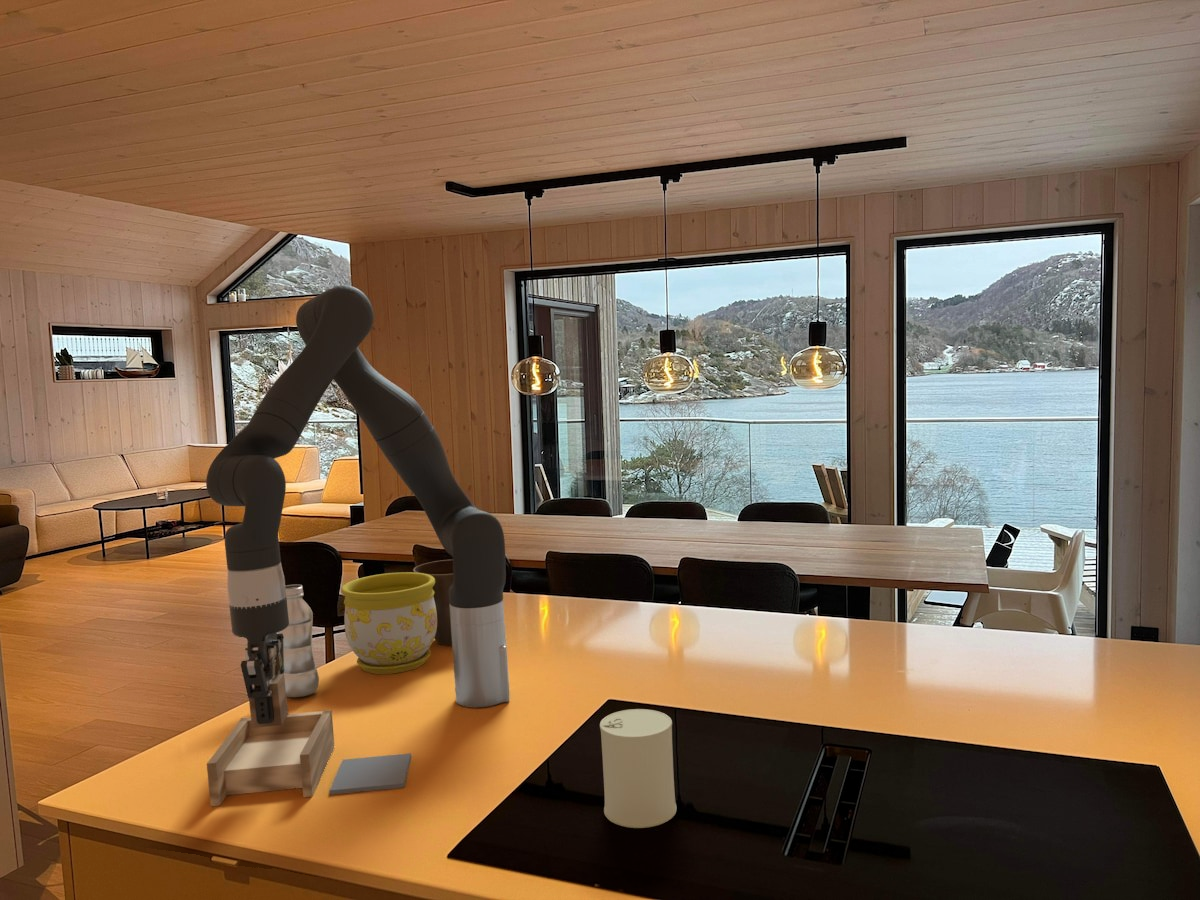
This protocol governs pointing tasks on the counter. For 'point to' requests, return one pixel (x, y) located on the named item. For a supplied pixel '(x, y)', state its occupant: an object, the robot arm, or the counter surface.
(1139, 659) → the counter surface
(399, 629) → the flowerpot
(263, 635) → the robot arm
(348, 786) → the mat
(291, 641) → the plastic bottle
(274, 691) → the block
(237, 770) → the crate
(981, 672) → the counter surface
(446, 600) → the plant pot
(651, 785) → the can
